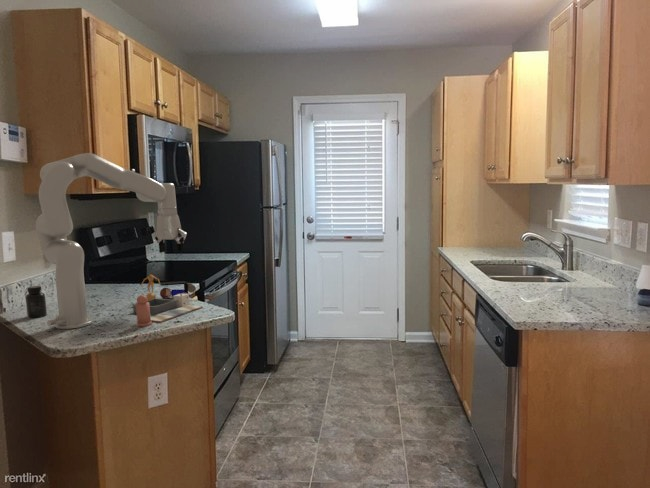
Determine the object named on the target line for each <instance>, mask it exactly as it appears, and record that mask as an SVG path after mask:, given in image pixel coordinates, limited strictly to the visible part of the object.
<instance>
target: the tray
mask: <svg viewBox="0 0 650 488" xmlns="http://www.w3.org/2000/svg"><path fill="white" fill-rule="evenodd" d="M148 302H149V306H150V315H160V314H163V313H166V312H169V311H172V310H175V309H177V308H178V306H177V300H174V299H169V298H167V299H164V298H154V299H151V300H148ZM136 304H137V303H135V304H132V309H133V313H137V311H136Z"/></svg>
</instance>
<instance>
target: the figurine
mask: <svg viewBox="0 0 650 488" xmlns="http://www.w3.org/2000/svg"><path fill="white" fill-rule="evenodd" d="M154 279H155V280H157V282H158V285H159V286H161V285H160V283H161V282H160V279H159V277H156V276H154V275H153V274H148V276H147V277H146V278H143V281H142V282H141V284H140V285H141V287H142V286H143V284H144V282H145V281H146V280H148V282H147V287H146V288H147V290H148V293H147V294H146V295H145V296H146V297H147V298H148V300H151V299H154V298H156V295H155V294H154V286H155V282H154ZM150 287H151V288H150ZM156 299H157V298H156Z"/></svg>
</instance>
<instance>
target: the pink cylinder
mask: <svg viewBox="0 0 650 488" xmlns="http://www.w3.org/2000/svg"><path fill="white" fill-rule="evenodd" d="M146 296H147V295H146V294H145V295H144V294H140V295H139V296H137V298H136V303H135V304H136V311H137V312H136V320H137V322H136V327H139V328H144V327H150V326H152V325H153V322H152V321H151V314H150V306H149V302H148V298H147V297H146Z"/></svg>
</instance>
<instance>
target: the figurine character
mask: <svg viewBox="0 0 650 488" xmlns="http://www.w3.org/2000/svg"><path fill="white" fill-rule="evenodd" d="M179 285H183V288H182V289H181V288H180V289H170V288H168V287H163V286H179ZM159 286H162V287H163V288H161V289H160V291H159V295H160V298H161V299H169V298H171V297H173V296H174V295H177V294H180V293H182V294H189V297H192V295H191V294H190V293H194V292H196V290H197V288H196V286H195V285H194V284H193V283H191V282H187V281H185V280H183V281H182V280H181V281H168V282H165V281H164V282H160V285H159Z"/></svg>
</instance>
